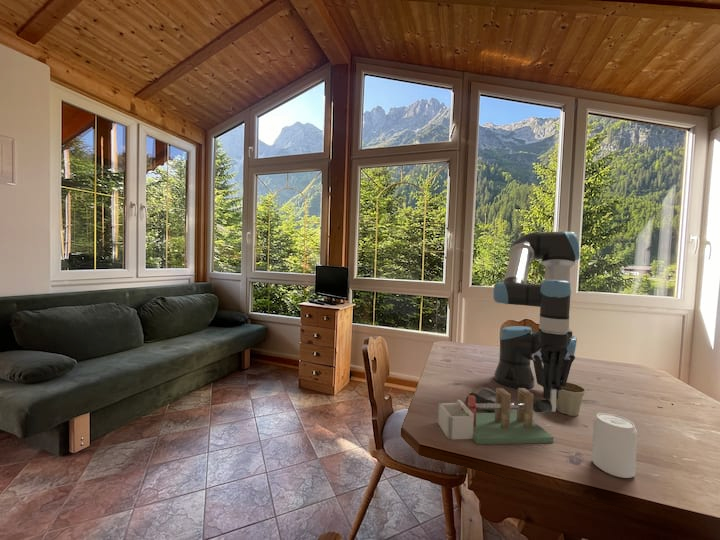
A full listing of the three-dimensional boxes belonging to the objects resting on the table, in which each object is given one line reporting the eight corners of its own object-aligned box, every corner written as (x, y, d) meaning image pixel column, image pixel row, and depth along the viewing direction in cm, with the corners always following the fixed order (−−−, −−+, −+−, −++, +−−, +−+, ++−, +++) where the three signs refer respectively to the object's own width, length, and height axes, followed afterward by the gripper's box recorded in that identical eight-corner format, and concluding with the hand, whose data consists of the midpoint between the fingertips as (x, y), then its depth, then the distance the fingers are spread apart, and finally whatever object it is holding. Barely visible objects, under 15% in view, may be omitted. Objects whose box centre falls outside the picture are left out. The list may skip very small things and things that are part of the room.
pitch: (522, 416, 99) (522, 412, 98) (553, 442, 85) (553, 437, 85) (456, 417, 97) (456, 413, 97) (477, 444, 83) (477, 438, 83)
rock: (462, 405, 106) (463, 390, 106) (471, 394, 115) (471, 380, 115) (508, 418, 98) (509, 402, 98) (513, 405, 107) (514, 390, 107)
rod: (543, 418, 94) (544, 393, 93) (551, 425, 90) (552, 398, 90) (465, 420, 91) (466, 393, 91) (471, 426, 88) (472, 399, 88)
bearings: (522, 420, 93) (524, 387, 93) (532, 428, 89) (533, 394, 89) (494, 420, 93) (496, 388, 92) (502, 428, 88) (504, 394, 88)
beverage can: (583, 458, 78) (585, 412, 78) (612, 457, 79) (615, 411, 78) (612, 481, 70) (614, 429, 70) (644, 480, 71) (647, 428, 70)
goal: (459, 422, 94) (460, 399, 94) (472, 438, 85) (473, 414, 85) (437, 422, 94) (438, 399, 93) (448, 439, 85) (449, 414, 84)
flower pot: (574, 421, 97) (575, 394, 97) (544, 408, 105) (546, 383, 105) (590, 415, 101) (591, 389, 101) (560, 403, 109) (561, 379, 109)
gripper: (564, 328, 95) (561, 403, 96) (525, 328, 94) (521, 403, 95) (584, 334, 88) (580, 415, 89) (541, 334, 87) (537, 415, 87)
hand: (550, 409), depth 92 cm, fingers closed
